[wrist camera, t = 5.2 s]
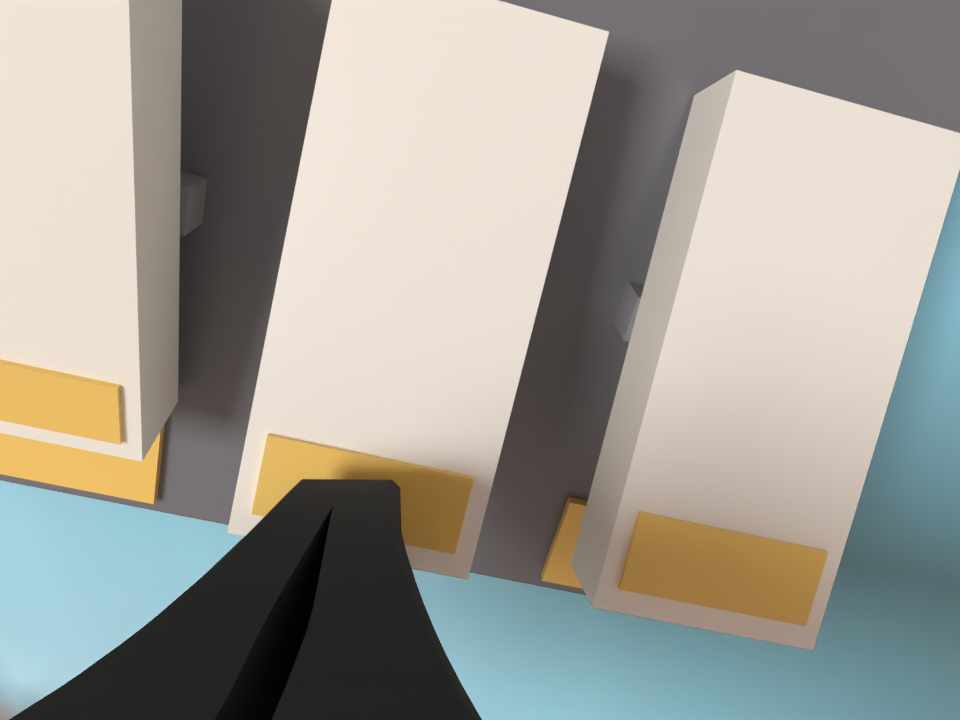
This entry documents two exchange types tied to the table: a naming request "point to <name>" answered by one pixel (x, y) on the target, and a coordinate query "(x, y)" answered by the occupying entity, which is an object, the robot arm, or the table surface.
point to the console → (574, 261)
